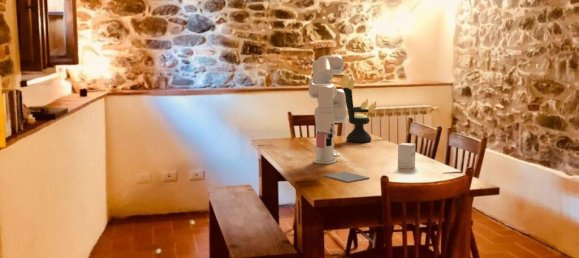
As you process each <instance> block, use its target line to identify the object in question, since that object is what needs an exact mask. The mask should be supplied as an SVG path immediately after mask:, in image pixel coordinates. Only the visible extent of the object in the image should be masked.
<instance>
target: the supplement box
mask: <svg viewBox="0 0 579 258" xmlns="http://www.w3.org/2000/svg"><path fill="white" fill-rule="evenodd" d="M397 145H398V146H397V149H398V150H397V168H398V169H406V170H407V169H408V170H411V169H412V168H415V167H416V147H417V146H416V143H412V142H411V143H410V142H409V143H408V142H402V143H399V144H397Z"/></svg>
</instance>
